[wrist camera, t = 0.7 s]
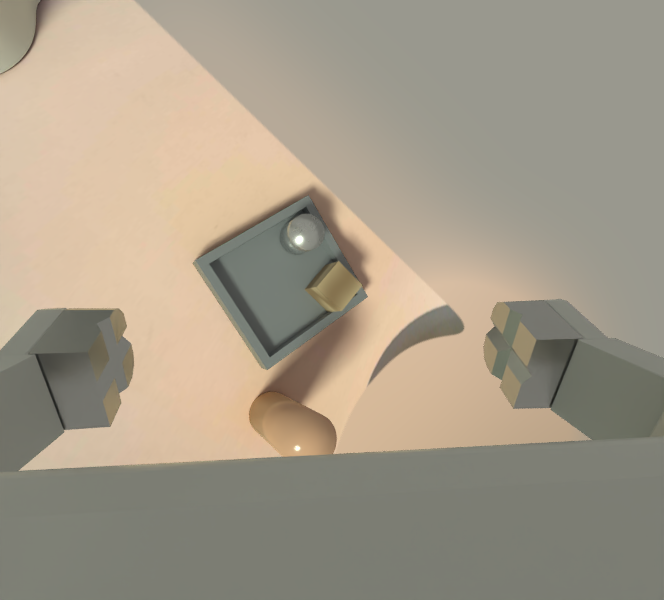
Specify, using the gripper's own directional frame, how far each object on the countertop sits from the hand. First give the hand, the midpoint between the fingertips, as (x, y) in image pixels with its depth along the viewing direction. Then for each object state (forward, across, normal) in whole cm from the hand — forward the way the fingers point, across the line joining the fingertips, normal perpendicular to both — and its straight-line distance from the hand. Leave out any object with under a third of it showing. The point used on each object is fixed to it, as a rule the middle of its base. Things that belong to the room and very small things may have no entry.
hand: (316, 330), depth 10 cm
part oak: (+38, -4, +20) cm, 43 cm away
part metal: (+40, -1, +14) cm, 43 cm away
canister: (+29, +3, +32) cm, 43 cm away
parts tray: (+38, +1, +19) cm, 42 cm away
